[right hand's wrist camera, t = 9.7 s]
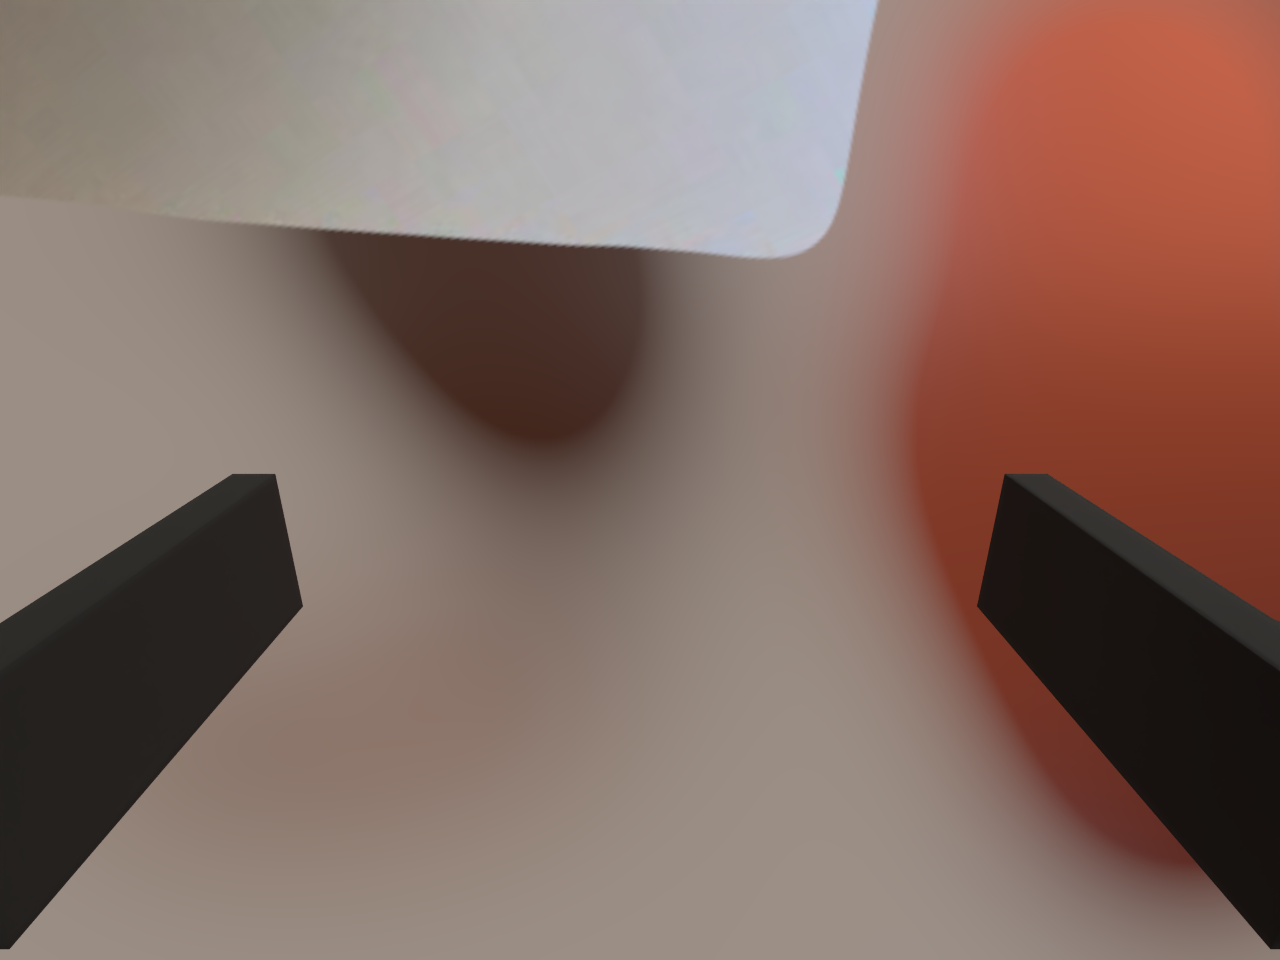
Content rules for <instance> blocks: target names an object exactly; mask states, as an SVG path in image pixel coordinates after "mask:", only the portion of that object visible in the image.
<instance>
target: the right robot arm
mask: <svg viewBox="0 0 1280 960" xmlns="http://www.w3.org/2000/svg"><path fill="white" fill-rule="evenodd" d="M302 607H303V605H302V600H301V595H300V590H299V585H298V581H297V576H296V571H295V566H294V562H293V557H292V552H291V547H290V542H289V538H288V533H287V528H286V523H285V518H284V514H283V509H282V504H281V500H280V495H279V490H278V485H277V480H276V475H275V474H232V475H230V476H229V477H227V478H226V479H224V480H223V481H221V482H220V483H218V484H216V485H215V486H213V487H212V488H210V489H209V490H207V491H205V492H204V493H202V494H201V495H199V496H198V497H196V498H195V499H193V500H191V501H190V502H188V503H187V504H185V505H184V506H182V507H181V508H179V509H177V510H176V511H174V512H173V513H171V514H170V515H168V516H166V517H165V518H163V519H162V520H160V521H159V522H157V523H156V524H154V525H152V526H151V527H149V528H148V529H146V530H145V531H143V532H142V533H140V534H138V535H137V536H135V537H134V538H132V539H131V540H129V541H128V542H126V543H124V544H123V545H121V546H120V547H118V548H117V549H115V550H114V551H112V552H111V553H109V554H107V555H106V556H104V557H103V558H101V559H100V560H98V561H96V562H95V563H93V564H92V565H90V566H89V567H87V568H86V569H84V570H82V571H81V572H79V573H78V574H76V575H75V576H73V577H72V578H70V579H69V580H67V581H65V582H64V583H62V584H61V585H59V586H57V587H56V588H54V589H53V590H51V591H50V592H48V593H47V594H45V595H43V596H42V597H40V598H39V599H37V600H36V601H34V602H33V603H31V604H30V605H28V606H26V607H25V608H23V609H22V610H20V611H19V612H17V613H15V614H14V615H12V616H11V617H9V618H8V619H6V620H5V621H3V622H1V623H0V949H10V948H11V947H12V946H13V944H14V943H15V942H16V941H17V940H18V939H19V937H20V936H21V935H22V934H23V933H24V932H25V930H26V929H27V928H28V927H29V926H30V924H31V923H32V922H33V921H34V920H35V919H36V918H37V916H38V915H39V914H40V913H41V912H42V911H43V909H44V908H45V907H46V906H47V905H48V904H49V902H50V901H51V900H52V899H53V898H54V897H55V895H56V894H57V893H58V892H59V891H60V889H61V888H62V887H63V886H64V885H65V884H66V882H67V881H68V880H69V879H70V878H71V877H72V875H73V874H74V873H75V872H76V871H77V870H78V868H79V867H80V866H81V865H82V864H83V863H84V861H85V860H86V859H87V858H88V857H89V856H90V854H91V853H92V852H93V851H94V850H95V849H96V847H97V846H98V845H99V844H100V843H101V842H102V840H103V839H104V838H105V837H106V836H107V835H108V833H109V832H110V831H111V830H112V829H113V828H114V826H115V825H116V824H117V823H118V822H119V821H120V819H121V818H122V817H123V816H124V815H125V814H126V812H127V811H128V810H129V809H130V808H131V807H132V805H133V804H134V803H135V802H136V801H137V799H138V798H139V797H140V796H141V795H142V794H143V793H144V791H145V790H146V789H147V788H148V787H149V786H150V784H151V783H152V782H153V781H154V780H155V778H156V777H157V776H158V775H159V774H160V773H161V771H162V770H163V769H164V768H165V767H166V766H167V764H168V763H169V762H170V761H171V760H172V759H173V757H174V756H175V755H176V754H177V753H178V752H179V750H180V749H181V748H182V747H183V746H184V745H185V743H186V742H187V741H188V740H189V739H190V738H191V736H192V735H193V734H194V733H195V732H196V731H197V729H198V728H199V727H200V726H201V725H202V724H203V722H204V721H205V720H206V719H207V718H208V717H209V715H210V714H211V713H212V712H213V711H214V710H215V708H216V707H217V706H218V705H219V704H220V703H221V701H222V700H223V699H224V698H225V697H226V696H227V694H228V693H229V692H230V691H231V690H232V689H233V687H234V686H235V685H236V684H237V683H238V682H239V680H240V679H241V678H242V677H243V676H244V675H245V673H246V672H247V671H248V670H249V669H250V668H251V666H252V665H253V664H254V663H255V662H256V660H257V659H258V658H259V657H260V656H261V655H262V653H263V652H264V651H265V650H266V649H267V648H268V646H269V645H270V644H271V643H272V642H273V641H274V639H275V638H276V637H277V636H278V635H279V634H280V632H281V631H282V630H283V629H284V628H285V627H286V625H287V624H288V623H289V622H290V621H291V620H292V618H293V617H294V616H295V615H296V614H297V613H298V611H299V610H300V609H301V608H302ZM977 607H978V608H979V609H980V610H981V611H982V613H983V614H984V615H985V616H986V617H987V618H988V620H989V621H990V622H991V623H992V624H993V625H994V627H995V628H996V629H997V630H998V631H999V632H1000V634H1001V635H1002V636H1003V637H1004V638H1005V639H1006V641H1007V642H1008V643H1009V644H1010V645H1011V646H1012V648H1013V649H1014V650H1015V651H1016V652H1017V653H1018V655H1019V656H1020V657H1021V658H1022V659H1023V660H1024V662H1025V663H1026V664H1027V665H1028V666H1029V667H1030V669H1031V670H1032V671H1033V672H1034V673H1035V675H1036V676H1037V677H1038V678H1039V679H1040V680H1041V682H1042V683H1043V684H1044V685H1045V686H1046V687H1047V689H1048V690H1049V691H1050V692H1051V693H1052V694H1053V696H1054V697H1055V698H1056V699H1057V700H1058V701H1059V703H1060V704H1061V705H1062V706H1063V707H1064V708H1065V710H1066V711H1067V712H1068V713H1069V714H1070V715H1071V717H1072V718H1073V719H1074V720H1075V721H1076V722H1077V724H1078V725H1079V726H1080V727H1081V728H1082V729H1083V730H1084V732H1085V733H1086V734H1087V735H1088V736H1089V738H1090V739H1091V740H1092V741H1093V742H1094V743H1095V745H1096V746H1097V747H1098V748H1099V749H1100V750H1101V752H1102V753H1103V754H1104V755H1105V756H1106V757H1107V759H1108V760H1109V761H1110V762H1111V763H1112V764H1113V766H1114V767H1115V768H1116V769H1117V770H1118V771H1119V773H1120V774H1121V775H1122V776H1123V777H1124V778H1125V780H1126V781H1127V782H1128V783H1129V784H1130V786H1131V787H1132V788H1133V789H1134V790H1135V791H1136V792H1137V794H1138V795H1139V796H1140V797H1141V798H1142V800H1143V801H1144V802H1145V803H1146V804H1147V805H1148V807H1149V808H1150V809H1151V810H1152V811H1153V812H1154V814H1155V815H1156V816H1157V817H1158V818H1159V819H1160V821H1161V822H1162V823H1163V824H1164V825H1165V826H1166V828H1167V829H1168V830H1169V831H1170V832H1171V833H1172V835H1173V836H1174V837H1175V838H1176V839H1177V840H1178V842H1179V843H1180V844H1181V845H1182V846H1183V847H1184V849H1185V850H1186V851H1187V852H1188V853H1189V854H1190V856H1191V857H1192V858H1193V859H1194V860H1195V861H1196V863H1197V864H1198V865H1199V866H1200V867H1201V868H1202V870H1203V871H1204V872H1205V873H1206V874H1207V875H1208V877H1209V878H1210V879H1211V880H1212V881H1213V882H1214V884H1215V885H1216V886H1217V887H1218V888H1219V889H1220V891H1221V892H1222V893H1223V894H1224V895H1225V897H1226V898H1227V899H1228V900H1229V901H1230V902H1231V904H1232V905H1233V906H1234V907H1235V908H1236V909H1237V911H1238V912H1239V913H1240V914H1241V915H1242V916H1243V918H1244V919H1245V920H1246V921H1247V922H1248V923H1249V925H1250V926H1251V927H1252V928H1253V929H1254V930H1255V932H1256V933H1257V934H1258V935H1259V936H1260V937H1261V939H1262V940H1263V941H1264V942H1265V943H1266V944H1267V946H1268V947H1269V948H1270V949H1280V622H1279V621H1277V620H1275V619H1272V618H1271V617H1269V616H1268V615H1266V614H1265V613H1263V612H1261V611H1260V610H1258V609H1257V608H1255V607H1254V606H1252V605H1251V604H1249V603H1247V602H1246V601H1244V600H1243V599H1241V598H1240V597H1238V596H1237V595H1235V594H1233V593H1232V592H1230V591H1229V590H1227V589H1226V588H1224V587H1223V586H1221V585H1219V584H1218V583H1216V582H1215V581H1213V580H1212V579H1210V578H1208V577H1207V576H1205V575H1204V574H1202V573H1201V572H1199V571H1198V570H1196V569H1194V568H1193V567H1191V566H1190V565H1188V564H1187V563H1185V562H1184V561H1182V560H1180V559H1179V558H1177V557H1176V556H1174V555H1173V554H1171V553H1170V552H1168V551H1166V550H1165V549H1163V548H1162V547H1160V546H1159V545H1157V544H1155V543H1154V542H1152V541H1151V540H1149V539H1148V538H1146V537H1145V536H1143V535H1142V534H1140V533H1138V532H1137V531H1135V530H1134V529H1132V528H1131V527H1129V526H1128V525H1126V524H1124V523H1123V522H1121V521H1120V520H1118V519H1117V518H1115V517H1113V516H1112V515H1110V514H1109V513H1107V512H1106V511H1104V510H1103V509H1101V508H1099V507H1098V506H1096V505H1095V504H1093V503H1092V502H1090V501H1089V500H1087V499H1085V498H1084V497H1082V496H1081V495H1079V494H1078V493H1076V492H1075V491H1073V490H1071V489H1070V488H1068V487H1067V486H1065V485H1064V484H1062V483H1061V482H1059V481H1057V480H1056V479H1054V478H1053V477H1051V476H1050V475H1048V474H1005V475H1004V480H1003V485H1002V490H1001V495H1000V499H999V504H998V509H997V514H996V518H995V523H994V528H993V533H992V538H991V542H990V547H989V552H988V557H987V561H986V566H985V571H984V576H983V581H982V586H981V590H980V595H979V600H978V605H977Z"/></svg>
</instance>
